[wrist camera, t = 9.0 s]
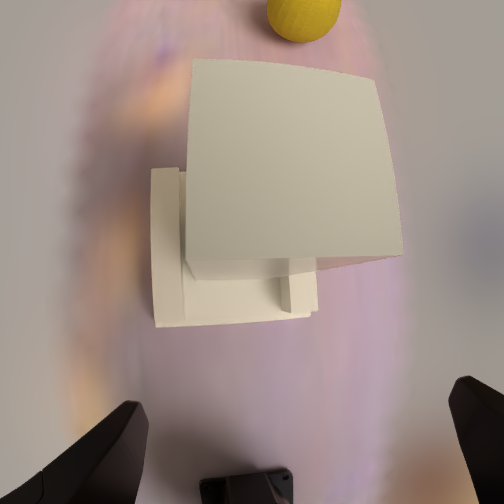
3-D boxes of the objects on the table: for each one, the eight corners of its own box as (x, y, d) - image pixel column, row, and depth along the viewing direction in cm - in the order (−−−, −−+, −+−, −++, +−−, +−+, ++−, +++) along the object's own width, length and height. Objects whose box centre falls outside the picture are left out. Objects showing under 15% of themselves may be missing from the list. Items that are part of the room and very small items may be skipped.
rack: (302, 314, 20) (322, 319, 17) (159, 324, 19) (150, 332, 15) (291, 178, 21) (308, 158, 18) (155, 181, 19) (147, 160, 16)
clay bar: (266, 279, 18) (403, 255, 6) (196, 280, 18) (186, 259, 5) (263, 210, 19) (373, 79, 6) (195, 210, 18) (193, 58, 5)
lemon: (332, 46, 23) (368, -14, 15) (292, 69, 22) (325, -1, 14) (288, 12, 23) (312, -50, 15) (245, 31, 22) (262, -40, 14)
